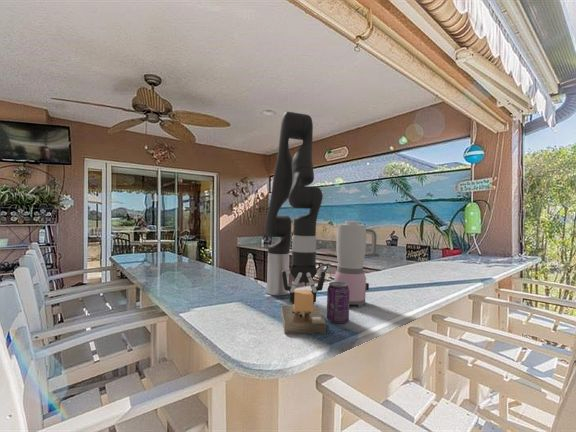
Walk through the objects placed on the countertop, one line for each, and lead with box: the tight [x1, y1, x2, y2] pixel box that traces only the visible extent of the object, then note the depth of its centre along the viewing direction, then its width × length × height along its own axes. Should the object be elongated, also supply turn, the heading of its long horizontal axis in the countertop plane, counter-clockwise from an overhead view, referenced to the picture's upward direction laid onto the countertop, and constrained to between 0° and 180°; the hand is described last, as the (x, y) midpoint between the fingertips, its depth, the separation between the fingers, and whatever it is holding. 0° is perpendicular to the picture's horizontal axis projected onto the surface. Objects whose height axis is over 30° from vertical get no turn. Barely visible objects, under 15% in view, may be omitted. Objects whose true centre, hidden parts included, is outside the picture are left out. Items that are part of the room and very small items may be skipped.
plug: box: [292, 289, 314, 317], centre depth 94 cm, size 6×6×8 cm
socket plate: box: [280, 305, 327, 335], centre depth 94 cm, size 16×12×4 cm
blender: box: [333, 220, 377, 308], centre depth 117 cm, size 16×12×32 cm
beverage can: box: [326, 281, 350, 324], centre depth 97 cm, size 7×7×12 cm
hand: (302, 303), depth 94 cm, fingers closed on plug, 5 cm apart
